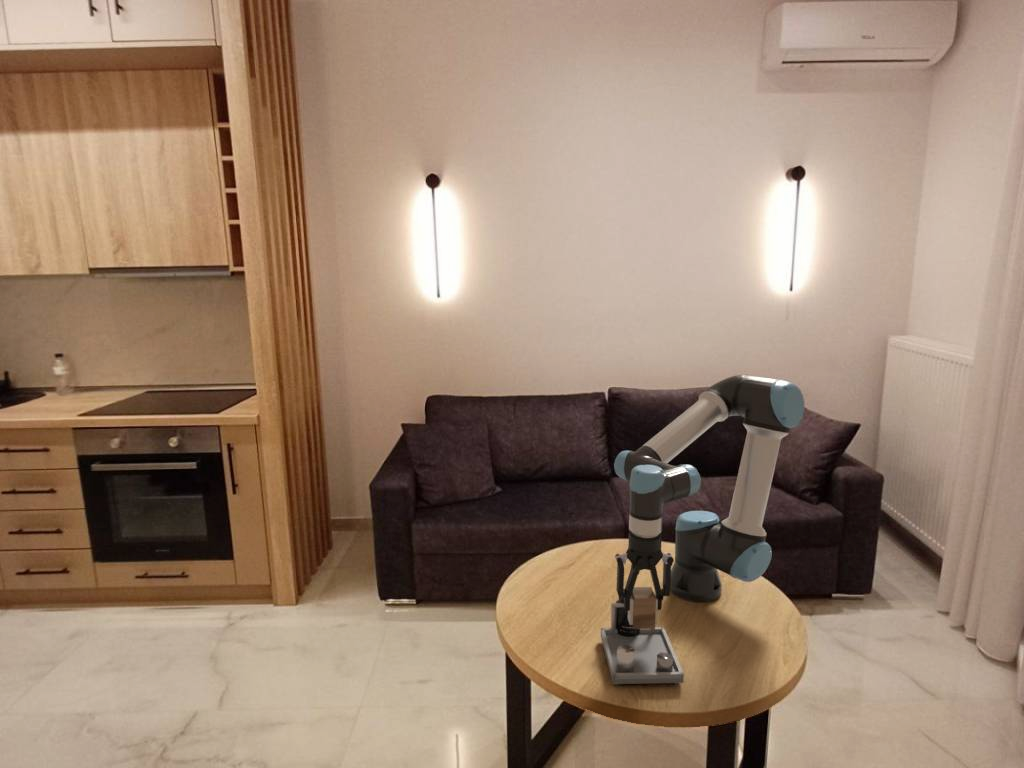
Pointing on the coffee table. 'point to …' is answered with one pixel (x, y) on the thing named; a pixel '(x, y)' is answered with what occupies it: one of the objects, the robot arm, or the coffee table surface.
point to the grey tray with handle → (640, 654)
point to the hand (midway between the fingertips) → (642, 621)
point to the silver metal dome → (664, 662)
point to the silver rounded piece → (625, 659)
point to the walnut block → (644, 608)
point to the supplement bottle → (623, 621)
